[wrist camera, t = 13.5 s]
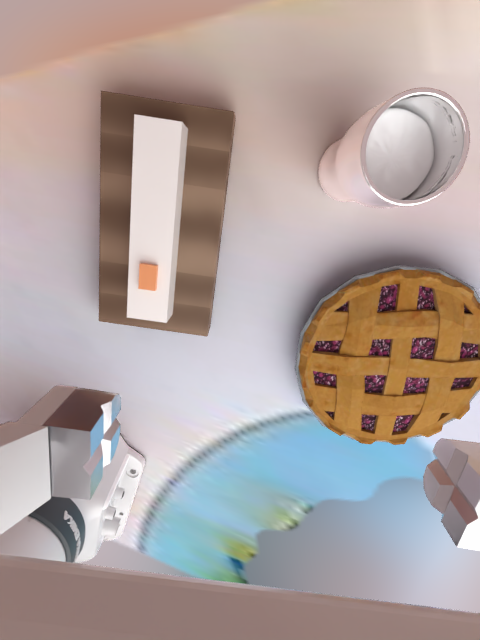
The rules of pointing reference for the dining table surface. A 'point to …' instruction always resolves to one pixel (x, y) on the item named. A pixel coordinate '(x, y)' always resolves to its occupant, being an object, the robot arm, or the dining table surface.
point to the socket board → (196, 213)
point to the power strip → (155, 216)
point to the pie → (391, 354)
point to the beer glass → (398, 151)
